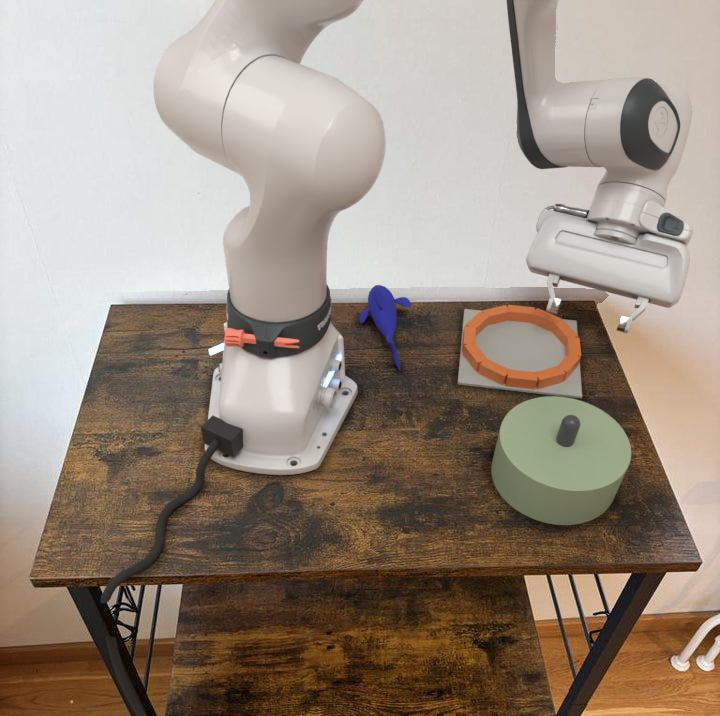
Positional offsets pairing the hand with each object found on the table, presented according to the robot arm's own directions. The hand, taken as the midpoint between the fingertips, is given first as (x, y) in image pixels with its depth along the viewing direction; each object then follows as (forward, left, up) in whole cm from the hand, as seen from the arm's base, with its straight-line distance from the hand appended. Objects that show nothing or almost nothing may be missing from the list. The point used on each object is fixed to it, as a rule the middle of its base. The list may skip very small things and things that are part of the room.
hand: (586, 321), depth 97 cm
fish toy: (-2, +26, -5) cm, 26 cm away
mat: (-2, +8, -5) cm, 9 cm away
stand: (-24, +4, -5) cm, 25 cm away
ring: (-2, +8, -4) cm, 9 cm away
